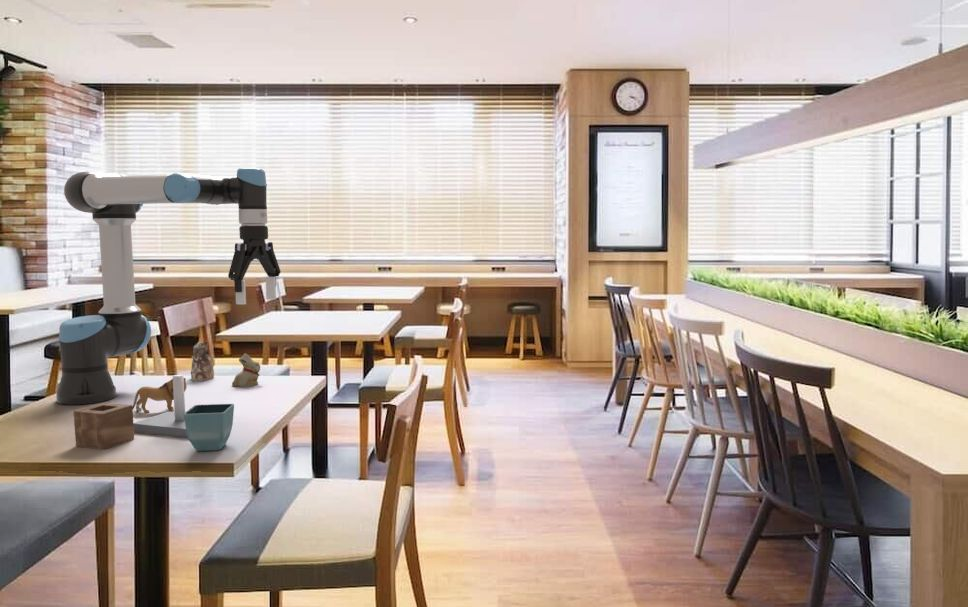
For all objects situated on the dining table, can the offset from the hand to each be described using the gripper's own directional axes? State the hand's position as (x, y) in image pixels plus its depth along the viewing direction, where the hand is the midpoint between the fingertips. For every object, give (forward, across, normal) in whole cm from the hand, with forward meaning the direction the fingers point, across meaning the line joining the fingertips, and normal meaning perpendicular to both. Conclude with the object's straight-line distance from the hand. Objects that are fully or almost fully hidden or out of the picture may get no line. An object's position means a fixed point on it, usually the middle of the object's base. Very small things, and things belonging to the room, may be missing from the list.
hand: (256, 301), depth 205 cm
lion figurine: (+28, -17, +19) cm, 38 cm away
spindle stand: (+28, -30, +1) cm, 41 cm away
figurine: (+28, +21, +37) cm, 51 cm away
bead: (+28, -45, +9) cm, 54 cm away
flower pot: (+28, -41, -17) cm, 53 cm away
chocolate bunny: (+28, +17, +17) cm, 37 cm away
